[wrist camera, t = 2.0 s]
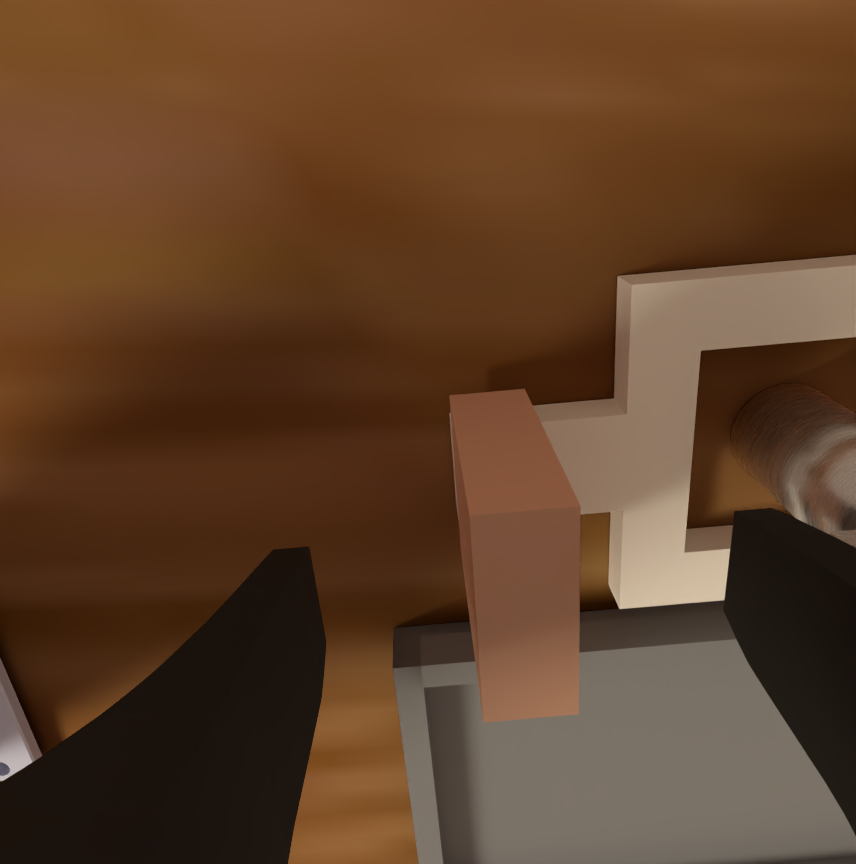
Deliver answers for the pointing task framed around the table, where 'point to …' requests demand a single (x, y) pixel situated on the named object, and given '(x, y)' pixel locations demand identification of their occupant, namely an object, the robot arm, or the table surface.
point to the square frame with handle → (612, 471)
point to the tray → (613, 754)
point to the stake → (802, 455)
